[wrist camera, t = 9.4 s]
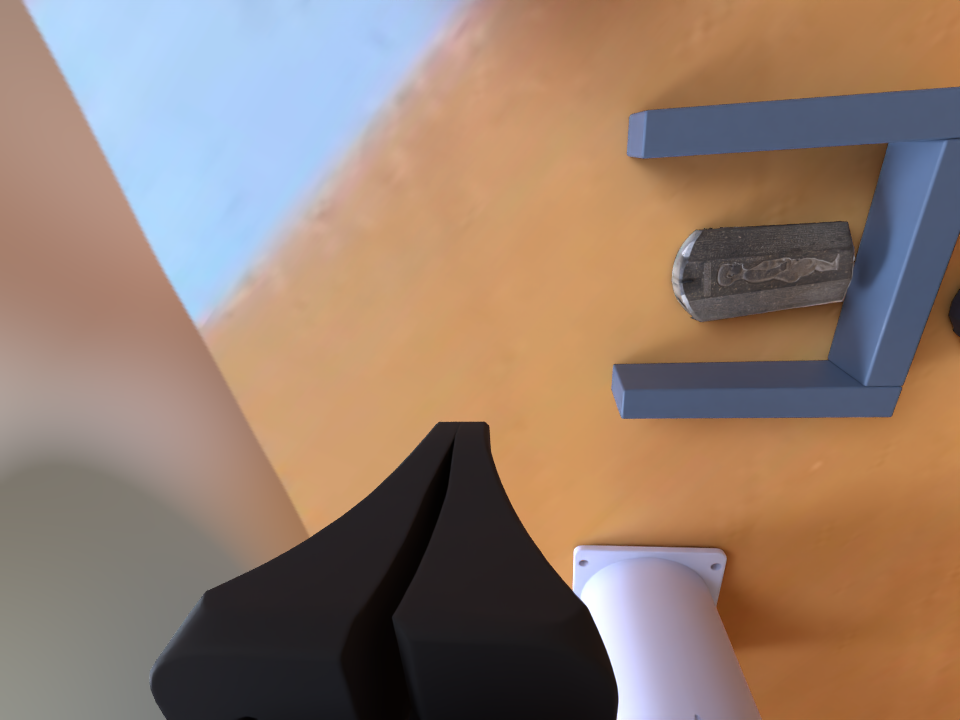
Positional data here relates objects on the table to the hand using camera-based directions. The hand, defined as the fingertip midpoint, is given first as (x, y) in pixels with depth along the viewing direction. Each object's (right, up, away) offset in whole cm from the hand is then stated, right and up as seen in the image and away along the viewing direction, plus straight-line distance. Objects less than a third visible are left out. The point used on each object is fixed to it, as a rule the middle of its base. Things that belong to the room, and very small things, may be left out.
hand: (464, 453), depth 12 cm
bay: (+11, +6, +6) cm, 14 cm away
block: (+11, +6, +7) cm, 14 cm away
